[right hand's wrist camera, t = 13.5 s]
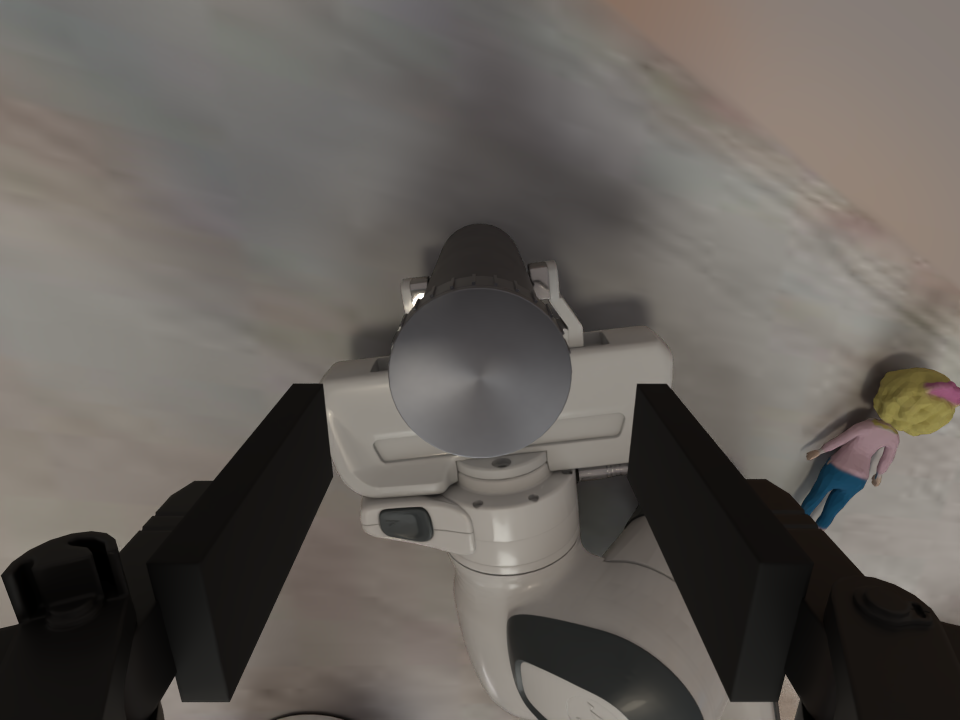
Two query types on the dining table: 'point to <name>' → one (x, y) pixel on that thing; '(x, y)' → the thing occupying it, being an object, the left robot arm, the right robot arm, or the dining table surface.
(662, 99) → the dining table surface
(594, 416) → the left robot arm
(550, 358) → the lid
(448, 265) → the bottle
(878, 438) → the figurine
